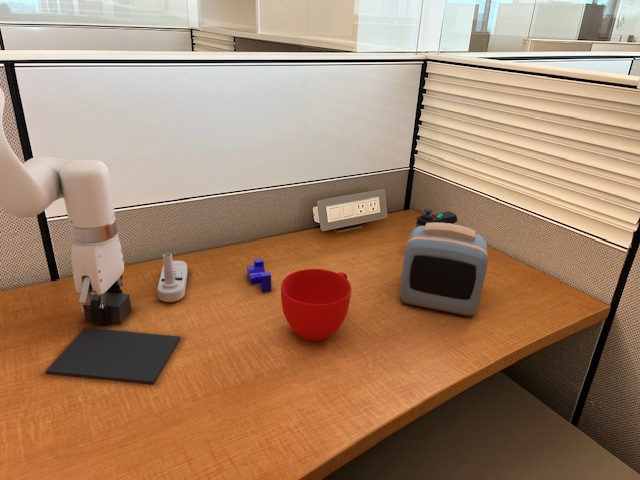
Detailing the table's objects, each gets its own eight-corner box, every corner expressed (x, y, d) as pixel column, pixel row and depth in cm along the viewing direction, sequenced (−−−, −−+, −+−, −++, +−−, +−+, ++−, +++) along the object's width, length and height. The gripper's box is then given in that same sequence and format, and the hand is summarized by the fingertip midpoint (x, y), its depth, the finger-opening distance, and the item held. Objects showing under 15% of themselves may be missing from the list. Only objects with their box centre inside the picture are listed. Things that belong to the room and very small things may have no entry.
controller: (410, 243, 129) (415, 208, 125) (445, 235, 135) (450, 202, 130) (420, 249, 126) (425, 214, 122) (455, 242, 131) (462, 208, 127)
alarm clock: (396, 305, 101) (405, 237, 94) (407, 270, 115) (415, 209, 108) (476, 321, 97) (492, 251, 90) (477, 283, 111) (490, 220, 104)
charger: (79, 320, 92) (76, 302, 90) (92, 307, 96) (88, 290, 94) (121, 324, 91) (118, 306, 89) (131, 311, 95) (129, 293, 93)
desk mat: (46, 373, 78) (45, 370, 78) (85, 330, 89) (85, 327, 89) (153, 384, 77) (153, 381, 77) (180, 339, 88) (179, 336, 87)
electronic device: (185, 231, 108) (179, 260, 94) (188, 269, 112) (184, 302, 98) (160, 232, 107) (151, 261, 93) (164, 271, 111) (157, 304, 97)
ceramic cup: (370, 317, 96) (374, 274, 92) (323, 361, 84) (326, 313, 79) (317, 296, 103) (319, 255, 99) (266, 334, 90) (265, 288, 86)
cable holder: (247, 275, 110) (246, 260, 108) (262, 273, 111) (262, 258, 109) (255, 293, 103) (255, 277, 101) (271, 291, 104) (271, 275, 102)
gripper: (98, 210, 93) (111, 290, 101) (45, 249, 78) (65, 339, 86) (135, 213, 93) (146, 293, 101) (89, 252, 77) (105, 343, 85)
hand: (108, 314), depth 93 cm, fingers open, 5 cm apart
